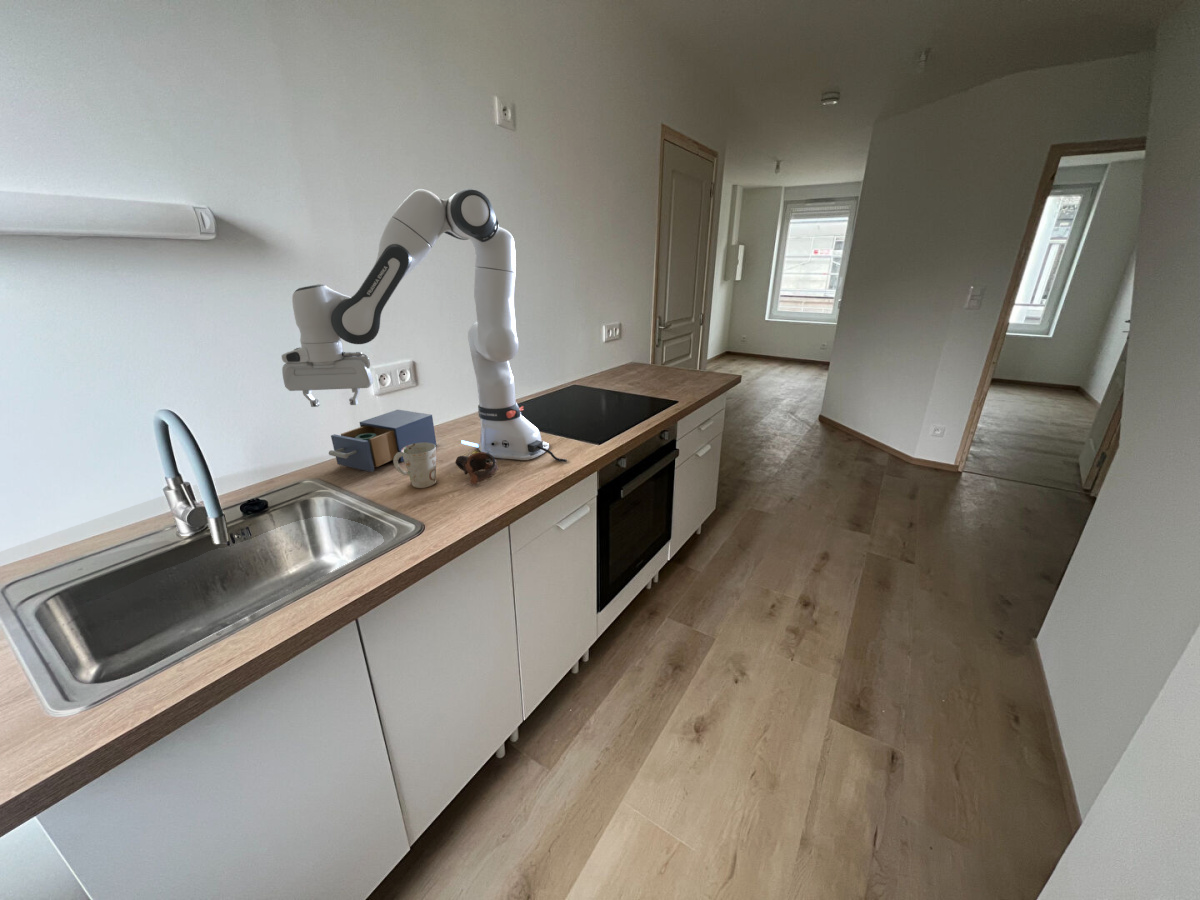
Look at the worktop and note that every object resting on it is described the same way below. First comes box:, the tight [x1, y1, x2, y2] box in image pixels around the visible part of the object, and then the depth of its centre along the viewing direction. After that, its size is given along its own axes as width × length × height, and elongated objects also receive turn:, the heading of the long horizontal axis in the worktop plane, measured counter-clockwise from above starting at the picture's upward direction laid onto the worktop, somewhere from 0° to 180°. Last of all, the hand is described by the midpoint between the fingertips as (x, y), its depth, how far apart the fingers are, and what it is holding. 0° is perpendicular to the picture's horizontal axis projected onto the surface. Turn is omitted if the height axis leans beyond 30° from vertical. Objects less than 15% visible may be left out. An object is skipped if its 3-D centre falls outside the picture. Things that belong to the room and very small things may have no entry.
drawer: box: [328, 426, 398, 473], centre depth 129 cm, size 18×13×9 cm
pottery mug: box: [455, 451, 500, 486], centre depth 122 cm, size 12×10×8 cm
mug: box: [392, 443, 437, 489], centre depth 118 cm, size 8×13×10 cm, turn 78°
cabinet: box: [359, 409, 438, 463], centre depth 140 cm, size 15×15×11 cm
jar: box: [355, 433, 377, 460], centre depth 131 cm, size 5×5×6 cm
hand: (335, 405), depth 119 cm, fingers open, 8 cm apart
